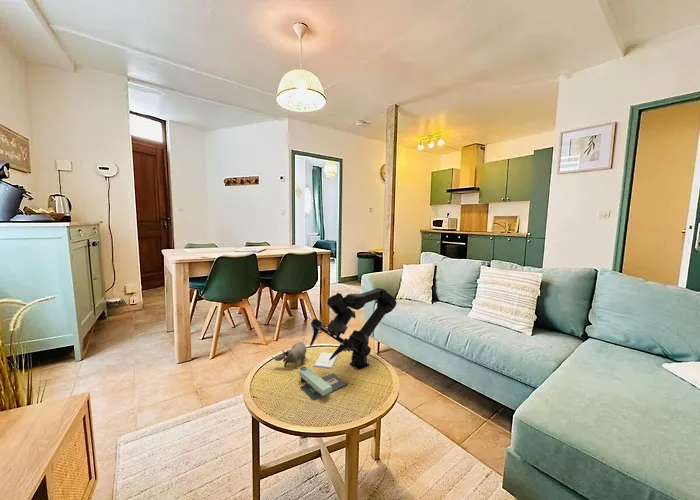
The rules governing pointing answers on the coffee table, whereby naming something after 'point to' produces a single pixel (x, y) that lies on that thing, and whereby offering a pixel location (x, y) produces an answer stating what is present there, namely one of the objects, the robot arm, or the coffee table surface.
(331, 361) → the external hard drive
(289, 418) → the coffee table surface
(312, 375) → the swing arm
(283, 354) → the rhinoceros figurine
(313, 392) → the label panel
